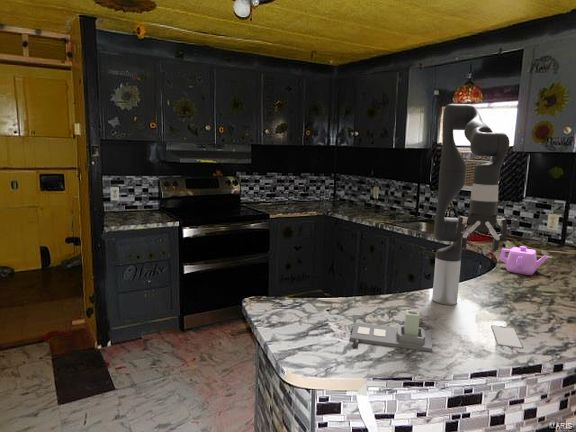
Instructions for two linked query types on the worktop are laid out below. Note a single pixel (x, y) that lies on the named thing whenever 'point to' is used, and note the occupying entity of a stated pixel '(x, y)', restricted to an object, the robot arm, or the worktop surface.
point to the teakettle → (521, 260)
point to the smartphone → (506, 336)
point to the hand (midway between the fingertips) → (478, 250)
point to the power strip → (390, 336)
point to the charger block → (411, 323)
